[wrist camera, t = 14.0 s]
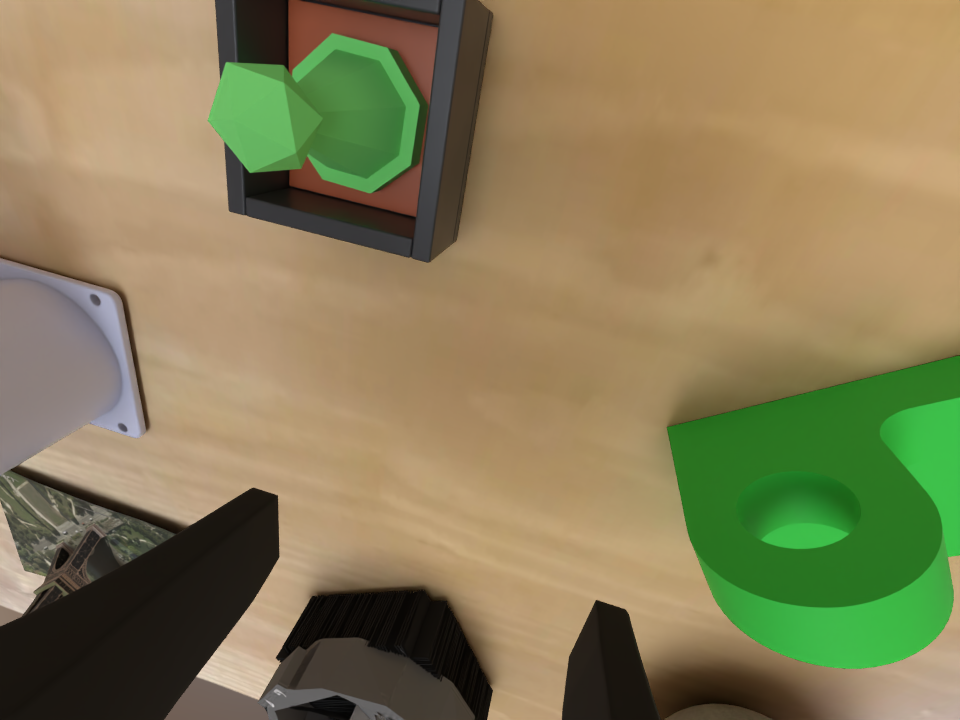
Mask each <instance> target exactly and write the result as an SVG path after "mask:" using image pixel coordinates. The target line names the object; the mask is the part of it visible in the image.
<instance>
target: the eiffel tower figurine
mask: <svg viewBox="0 0 960 720" xmlns="http://www.w3.org/2000/svg"><path fill="white" fill-rule="evenodd" d="M0 501H1V504H2V507H3V510H4V513H5V516H6V518H7V521H8V524H9V527H10V530H11V533H12V536H13V539H14V542H15V545H16V548H17V551H18V554H19V557H20V560H21V562H22V565H23V568H24V570H25V571H28V572H32V573H35V574H39V575H42V576H46V578H45V581H44V583H43V584H42V585H41V586H40V587H39V588H38V589H36V590H35V591H34V593H35V594H36V595H37V596H36V598H35V599H34V601H33V602H32V604H31V605H30V606H29V608H28V609H27V610H26V612H25V613H24V614H23V616H24V615H27V614H29V613H31V612H33V611H35V610H37V609H39V608H41V607H43V606H45V605H48V604H50V603H52V602H54V601H56V600H58V599H60V598H62V597H64V596H66V595H68V594H70V593H72V592H74V591H75V590H77V589H79V588H81V587H83V586H85V585H87V584H89V583H91V582H93V581H95V580H96V579H98V578H100V577H102V576H104V575H106V574H107V573H109V572H111V571H113V570H115V569H117V568H118V567H120V566H122V565H124V564H126V563H128V562H129V561H131V560H133V559H135V558H137V557H138V556H140V555H142V554H144V553H145V552H147V551H149V550H150V549H152V548H154V547H156V546H157V545H159V544H161V543H162V542H164V541H166V540H167V539H169V538H171V537H172V536H174V535H176V534H174V533H172V532H169V531H167V530H164V529H162V528H160V527H157V526H155V525H152V524H149V523H147V522H144V521H141V520H139V519H136V518H133V517H130V516H127V515H124V514H121V513H118V512H115V511H112V510H109V509H106V508H103V507H101V506H98V505H95V504H92V503H89V502H87V501H84V500H81V499H79V498H76V497H73V496H71V495H68V494H65V493H63V492H60V491H58V490H55V489H52V488H50V487H47V486H45V485H42V484H40V483H37V482H35V481H32V480H30V479H27V478H25V477H23V476H21V475H19V474H17V473H14V472H12V471H10V470H9V471H7V472H5V473H3V474H2V475H0Z"/></svg>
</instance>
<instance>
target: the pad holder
mask: <svg viewBox="0 0 960 720" xmlns="http://www.w3.org/2000/svg"><path fill="white" fill-rule="evenodd" d="M215 7H216V22H217V37H218V53H219V68H220V80H221V76H222V73H223V70H224V67H225V64H226V62H234V63H253V64H271V65H284V66H285V68H286V69H287V70H288V72H289V73H290V74H291V76H292V71H293V69H294V68H295V67H296V66H297V65H298V64H300V63H301V62H302V61H303V60H304V59H305V58H306V57H307V56H308V55H309V54H310V53H311V52H312V51H314V50H315V49H316V48H317V47H318V46H319V45H320V44H321V43H322V42H323V41H324V40H325V39H326V38H328V37H329V36H330V35H331V34H332V33H334V34H338V35H341V36H345V37H349V38H353V39H357V40H360V41H364V42H368V43H372V44H375V45H379V46H383V47H387V48H390V49H393V50H396V51H398V53H399V54H400V56H401V58H402V60H403V61H404V63H405V65H406V67H407V69H408V70H409V72H410V74H411V76H412V77H413V79H414V81H415V83H416V85H417V86H418V88H419V90H420V92H421V93H422V95H423V97H424V99H425V101H426V102H427V104H428V111H427V117H426V123H425V130H424V136H423V142H422V149H421V155H420V161H419V164H417V165H416V166H414V167H413V168H411V169H410V170H409V171H407V172H406V173H404V174H403V175H401V176H400V177H399V178H397V179H396V180H394V181H393V182H391V183H390V184H389V185H387V186H386V187H384V188H383V189H382V190H380V191H377V192H374V193H371V194H370V193H367V192H363V191H360V190H357V189H353V188H350V187H346V186H343V185H340V184H336V183H333V182H329V181H326V180H323V179H322V178H321V176H320V175H319V173H318V172H317V170H316V169H315V167H314V166H313V164H312V163H311V161H310V160H309V158H308V157H306V159H305V162H304V164H303V166H302V168H301V169H293V170H280V171H267V172H254V173H250V172H249V171H248V170H247V169H246V167H245V166H244V165H243V164H242V162H241V161H240V160H239V159H238V158H237V156H236V155H235V154H234V153H233V151H232V150H231V149H230V148H229V146H228V145H227V144H226V143H225V141H224V144H225V160H226V175H227V190H228V205H229V211H230V212H233V213H237V214H241V215H247V216H249V217H253V218H256V219H260V220H264V221H268V222H272V223H276V224H280V225H284V226H288V227H291V228H295V229H299V230H303V231H307V232H311V233H315V234H319V235H323V236H326V237H330V238H334V239H338V240H342V241H346V242H350V243H354V244H358V245H361V246H365V247H369V248H373V249H377V250H381V251H385V252H389V253H393V254H396V255H400V256H404V257H408V258H410V257H412V258H413V259H416V260H420V261H424V262H427V263H428V262H431V261H432V260H433V259H434V258H435V257H437V256H438V255H439V254H440V253H442V252H443V251H444V250H445V249H446V248H448V247H449V246H450V245H451V244H452V243H454V242H455V241H456V240H457V234H458V228H459V222H460V215H461V209H462V203H463V197H464V191H465V185H466V178H467V172H468V166H469V160H470V154H471V148H472V141H473V135H474V129H475V123H476V117H477V111H478V104H479V98H480V92H481V86H482V80H483V74H484V67H485V61H486V55H487V49H488V43H489V37H490V30H491V24H492V18H493V13H492V12H491V11H490V10H488V9H487V8H486V7H485V6H484V5H483V4H482V3H481V2H480V1H478V0H215Z"/></svg>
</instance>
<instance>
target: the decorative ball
mask: <svg viewBox="0 0 960 720" xmlns="http://www.w3.org/2000/svg"><path fill="white" fill-rule="evenodd" d="M664 720H773V719H771V718H769V717H766V716H764V715H762V714H760V713H757V712H755V711H753V710H749V709H746V708H743V707H739V706H733V705H728V704H703V705H697V706H692V707H689V708H686V709H683V710H680V711H678V712H676V713H674V714H672V715H671V716H669V717H667V718H666V719H664Z"/></svg>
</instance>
